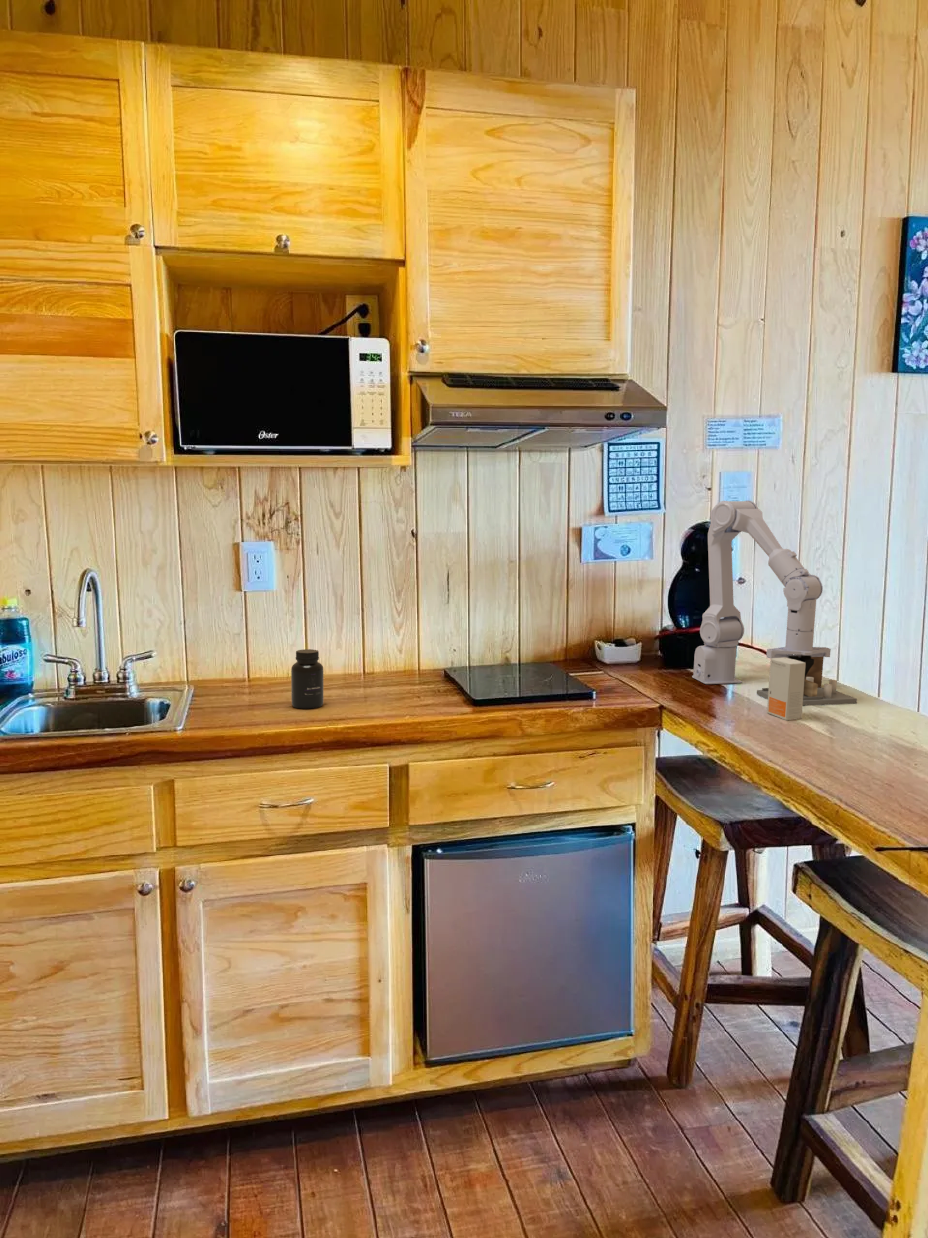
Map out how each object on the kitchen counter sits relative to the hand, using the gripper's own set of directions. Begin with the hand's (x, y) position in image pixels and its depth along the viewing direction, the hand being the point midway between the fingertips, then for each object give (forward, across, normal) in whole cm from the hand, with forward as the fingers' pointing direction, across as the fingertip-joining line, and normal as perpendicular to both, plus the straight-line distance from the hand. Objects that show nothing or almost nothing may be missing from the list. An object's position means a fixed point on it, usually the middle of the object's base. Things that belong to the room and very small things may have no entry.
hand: (795, 688), depth 195 cm
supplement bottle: (+3, -108, +11) cm, 109 cm away
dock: (+2, +3, 0) cm, 4 cm away
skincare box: (+3, -10, -13) cm, 17 cm away
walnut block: (+2, +10, +10) cm, 14 cm away
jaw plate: (+1, +2, 0) cm, 2 cm away
